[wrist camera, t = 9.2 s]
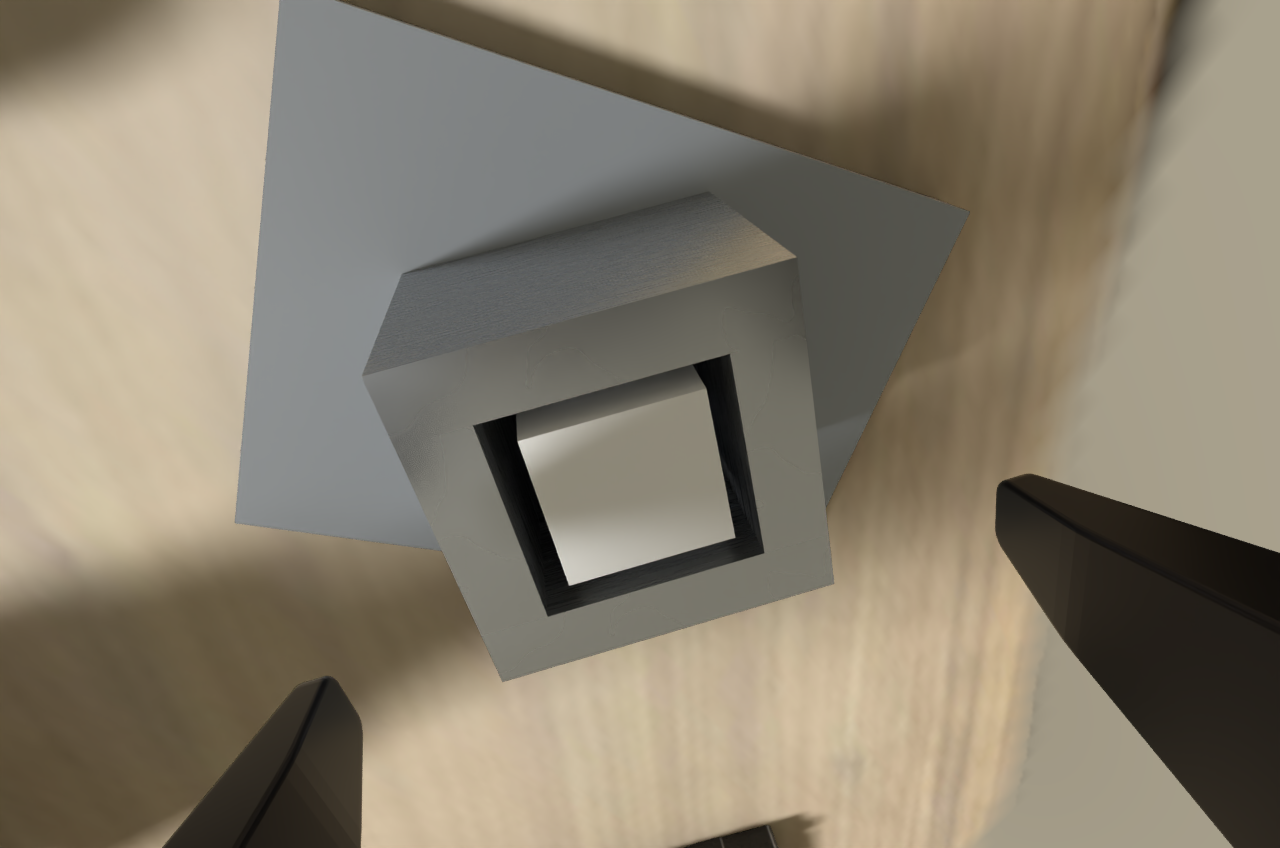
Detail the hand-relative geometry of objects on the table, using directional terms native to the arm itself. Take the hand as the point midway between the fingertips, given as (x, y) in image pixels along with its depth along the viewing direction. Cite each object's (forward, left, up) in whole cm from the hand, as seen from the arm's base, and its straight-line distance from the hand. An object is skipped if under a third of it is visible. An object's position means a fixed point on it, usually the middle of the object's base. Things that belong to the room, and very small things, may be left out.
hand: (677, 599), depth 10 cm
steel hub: (0, 0, -8) cm, 8 cm away
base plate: (0, 0, -9) cm, 9 cm away
